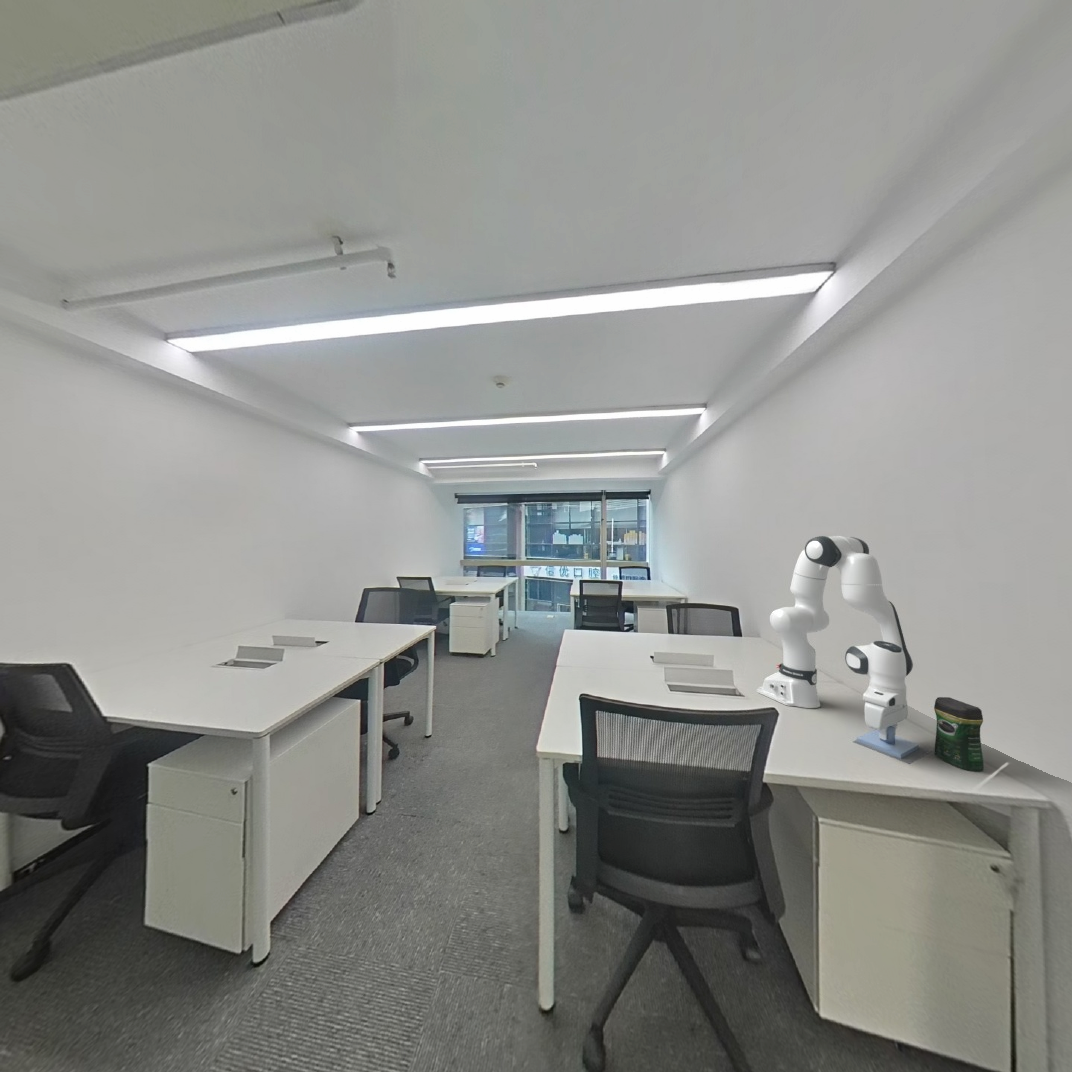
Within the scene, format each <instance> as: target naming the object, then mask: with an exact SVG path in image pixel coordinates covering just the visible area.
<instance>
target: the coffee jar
mask: <svg viewBox="0 0 1072 1072" xmlns="http://www.w3.org/2000/svg"><path fill="white" fill-rule="evenodd" d="M933 708H934V709H933V710H934V714H935V718H936V729H935V731H936V733H935V740H934V751H933V752H934V756H936V758H938V759H939V760H941V761H943V762H945V763H947V764H948V765H950V766H953V767H955V768H957V769H960V770H963V771H969V772H981V771H983V770H984V757H983V750H982V742H981V741H982V739H981V727H982V725H983V722H984V718H983V712H982V710H981V709H980V707H977V706H976V705H975V706H974V705H971V704H969V703H966V702H963V701H960V700H957V699H955V698H952V697H949V696H948V697H946V696H945V697H943V696H939V697H936V699H935V700H934V706H933Z"/></svg>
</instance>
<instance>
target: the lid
mask: <svg viewBox="0 0 1072 1072" xmlns="http://www.w3.org/2000/svg"><path fill="white" fill-rule="evenodd" d="M887 734H888V739H886V740H883V739H881V738H880V737H879V731H878V730H876V729H873V730H871V731H869V732H866V733H864V734H862V735H860V736H858V737H856V740H857V742H859V743H862V744H865V745H867V746H870V747H872V748H875V749H877V750H880V751H883V752H885V753H888V754H890V755H893V756H895V757H898V758H903V757H904V756H906V755H908V754H910V753H912V752H913V751H915V750H917V749H919V747H920V744H919V743H916V742H913V741H910V740H907V739H905V738H902V737H898V736H896V730H895V728H894V727H892V726H889V727H887Z"/></svg>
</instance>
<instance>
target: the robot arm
mask: <svg viewBox="0 0 1072 1072" xmlns="http://www.w3.org/2000/svg"><path fill="white" fill-rule="evenodd" d="M833 567H835V568H836V569H838V571H839V572H840V583H841V584H840V586H841V588H840V589H841V594H842V598H843V600H844V601H845V602H846V603H847V605H849V606H850V607H852V608H854V609H856V610H859V611H861V612H863V613H865V614H868V615H870V616H872V617H873V618H874V619H875V620H876V621H877V623H878V625H879V629H880V634H881V638H882V640H875V641H872V642H871V643H870V644H866V645H865V644H863V645H853V646H850V647H848V649H847V650H846V652H845V656H844V661H845V664H846V666H847V667H848V668H849V670H851V671H852V672H853V673H856V674H860V675H863V676H864V675H865V676H868V677H869V680H868V682H869V685H868V687H867V689H866V691H865V692H864V693H862V700H863V701H865V702H864V721H865V725H866V726H867V727H869V728H870V729H873V730H875V729H876V730H878V731H879V737H880V738H881V739H883V740H886V739H888V734H887V727H889V726H892V727H894V728H895V731H897V728H898V723H901V722H902V721H904V720H906V719H908V714H909V712H908V711H909V709H908V701H907V685H906V681H905V680H906V677H907V676H908V675H910V673H911V672H912V670H913V667H914V663H913V659H912V656H911V654H910V653H909V650H908V649H907V645H906V642H905V637H904V633H903V630H902V625H901V622H900V618H899V615H898V612H897V609H896V607H895V605H894V604H893V602H892V601H890V600H889V599H888V598H887V596H886V595H885V591H884V589H883V580H882V576H881V575H882V573H881V570H880V566H879V564H878V561H877V559H876V557H874V556H873V555H870V548H869V545H868V544H867V543H866V541H864V540H862V539H861V538H857V537H853V536H850V537H849V536H844V535H831V536H828V535H826V536H825V535H821V536H820V535H819V536H816V537H812V538H810V539H809V540H808V541H807V542H806V544H805V547H804V549H802V550H801V552H800V553H799V556H798V558H797V560H796V563H795V565H794V569H793V573H792V579H791V583H790V587H789V590H790V592H791V594H792V595H793V596H794V599H795V600H794V602H795V604H794V606H784V607H780V608H776V609H775V610H773V611H772V612H771V613H770V614H769V624H770V626H771V627H772V628H773V630H774V631H776V633H777V634H778V636H779V638H780V640H781V645H782V653H783V655H782V657H783V658H782V661H783V662H782V663H780V664H777V665H776V668H777V669H779V670H778V671H776V672H775V673H772V674H771V675H768V676H767V677H765V678H764V680H763V684H762V686H759V687H757V689H756V692H757V693H758V694H761V695H762V696H765V697H767V698H769V699H771V700H773V701H775V702H779V703H780V704H783V705H785V706H788V707H799V708H805V709H816V708H820V707H821V702H820V699H819V695H818V688H817V683H818V670H817V667H816V664H817V663H816V660H817V659H816V658H817V657H816V656H817V654H816V652H817V651H816V649H815V647H814V646H813V645H811V644H810V643H809V640H808V636H807V635H808V634H809V633H811V634H812V633H818V632H821V631H822V630H824V629H826V628H827V627H828V626H829V624H830V616H829V613H828V612H826V610H825V607H824V603H823V602H824V601H823V600H824V590H825V586H826V582H827V579H828V575H829V574H828V573H829V571H830V570H829V569H830V568H833Z"/></svg>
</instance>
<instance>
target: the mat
mask: <svg viewBox="0 0 1072 1072" xmlns="http://www.w3.org/2000/svg"><path fill="white" fill-rule="evenodd" d="M852 743H855V744H857V745H860V746H862V747H864V748H866V749H870V750H872V751H875V752H876V753H879V754H882V755H885V756H886V757H889V758H893V759H895V760H897V761H901V762H902V763H905V764H908V765H911V764H913V763H914V762H916V761H918V760H920V759H921V758H923V757H925V756H926V755H928V754H930V753H931V752H932V750H929V749H926V748H924V747H922V746H919V749H917V750H915V751H913V752H912V753H910V754H908V755H906V756H904V757H903V758H898V757H895V756H893V755H890V754H888V753H885V752H883V751H880V750H877V749H875V748H872V747H870V746H867V745H865V744H862V743H859V742H857V739H856V740H853V741H852Z"/></svg>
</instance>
